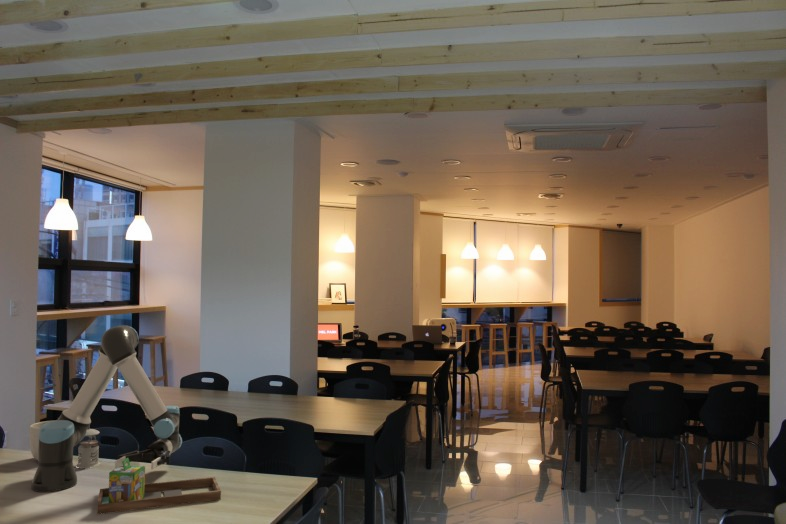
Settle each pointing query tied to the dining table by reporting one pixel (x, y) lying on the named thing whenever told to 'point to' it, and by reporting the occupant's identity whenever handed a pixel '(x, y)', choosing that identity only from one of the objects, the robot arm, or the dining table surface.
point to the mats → (166, 493)
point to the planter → (35, 437)
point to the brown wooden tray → (163, 500)
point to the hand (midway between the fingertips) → (134, 465)
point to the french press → (88, 451)
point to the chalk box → (126, 483)
